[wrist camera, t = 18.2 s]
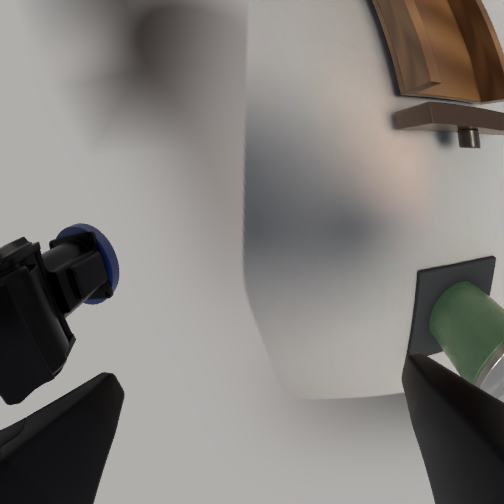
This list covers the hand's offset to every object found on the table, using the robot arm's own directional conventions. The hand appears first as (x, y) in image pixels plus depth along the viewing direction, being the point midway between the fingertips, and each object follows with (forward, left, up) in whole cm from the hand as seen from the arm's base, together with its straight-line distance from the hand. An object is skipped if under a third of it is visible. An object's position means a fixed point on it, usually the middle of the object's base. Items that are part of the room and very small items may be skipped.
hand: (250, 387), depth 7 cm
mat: (+16, -8, -13) cm, 22 cm away
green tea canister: (+16, -8, -12) cm, 22 cm away
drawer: (+14, +15, -12) cm, 24 cm away
